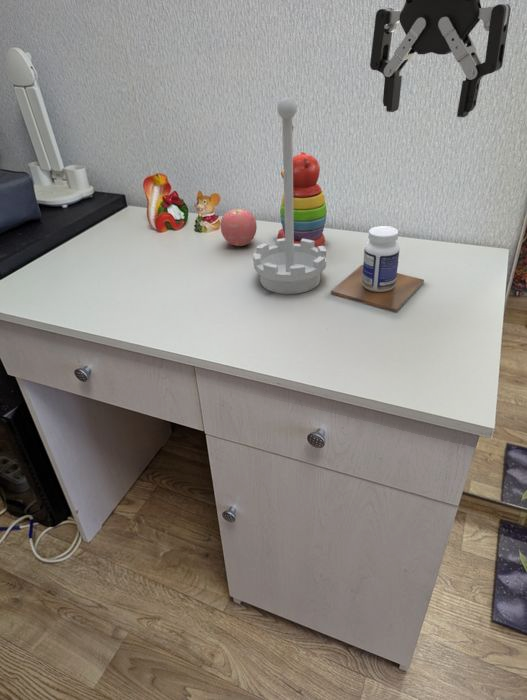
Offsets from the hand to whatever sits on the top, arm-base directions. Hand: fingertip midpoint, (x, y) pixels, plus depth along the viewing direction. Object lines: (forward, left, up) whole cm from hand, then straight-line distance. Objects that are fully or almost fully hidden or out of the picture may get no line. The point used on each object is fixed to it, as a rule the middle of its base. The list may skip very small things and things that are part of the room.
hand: (426, 113), depth 58 cm
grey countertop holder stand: (+23, -5, -30) cm, 38 cm away
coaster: (+8, -10, -30) cm, 33 cm away
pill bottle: (+8, -10, -30) cm, 32 cm away
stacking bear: (+30, -20, -30) cm, 47 cm away
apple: (+41, -13, -30) cm, 53 cm away
